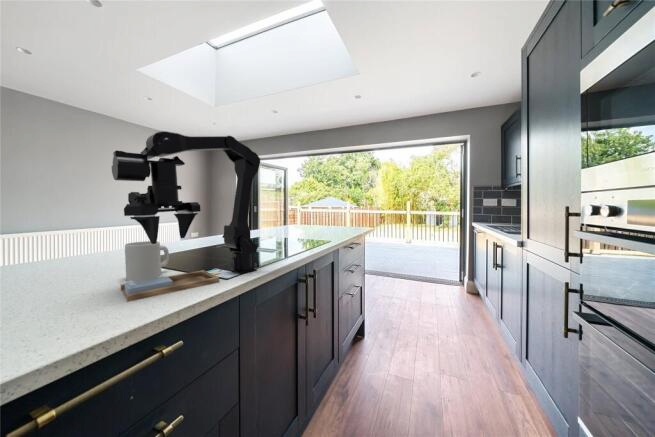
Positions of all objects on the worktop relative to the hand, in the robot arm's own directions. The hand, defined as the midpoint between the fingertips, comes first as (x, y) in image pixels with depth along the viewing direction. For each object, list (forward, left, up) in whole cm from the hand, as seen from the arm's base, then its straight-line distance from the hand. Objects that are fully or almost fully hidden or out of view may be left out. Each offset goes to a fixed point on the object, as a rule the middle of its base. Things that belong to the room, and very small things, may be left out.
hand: (169, 240), depth 69 cm
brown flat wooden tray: (0, +2, -13) cm, 13 cm away
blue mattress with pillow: (+5, +2, -12) cm, 13 cm away
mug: (+2, -14, -13) cm, 19 cm away
